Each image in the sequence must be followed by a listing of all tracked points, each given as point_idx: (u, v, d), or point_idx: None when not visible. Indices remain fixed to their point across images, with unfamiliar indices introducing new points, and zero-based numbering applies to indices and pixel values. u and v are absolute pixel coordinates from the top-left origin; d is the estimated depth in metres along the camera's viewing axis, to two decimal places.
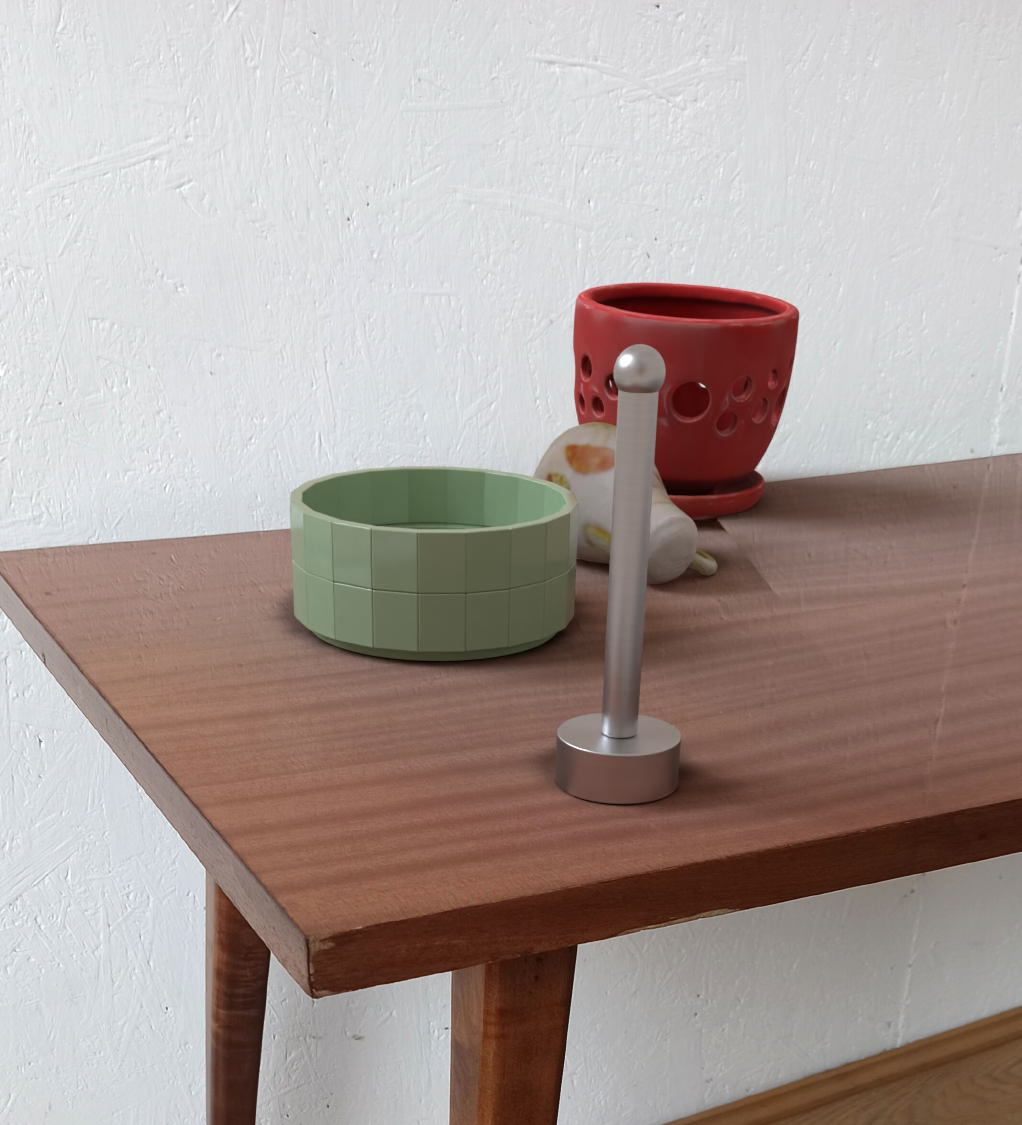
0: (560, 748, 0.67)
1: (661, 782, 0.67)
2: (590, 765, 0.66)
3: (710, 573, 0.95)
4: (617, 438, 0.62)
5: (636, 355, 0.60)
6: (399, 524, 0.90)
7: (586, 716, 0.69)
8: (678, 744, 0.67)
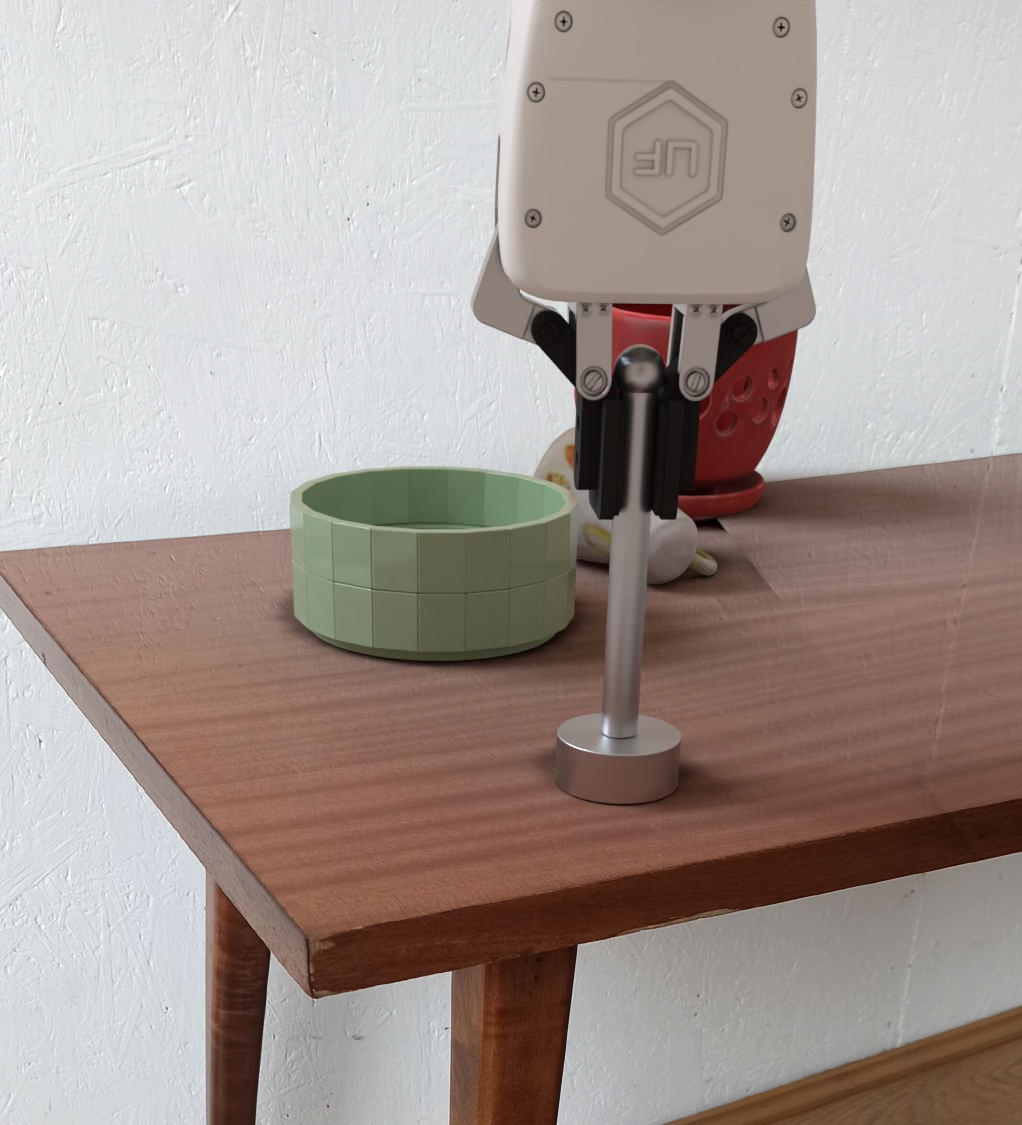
0: (560, 748, 0.67)
1: (661, 782, 0.67)
2: (590, 765, 0.66)
3: (710, 573, 0.95)
4: None
5: (636, 355, 0.60)
6: (399, 524, 0.90)
7: (586, 716, 0.69)
8: (678, 744, 0.67)
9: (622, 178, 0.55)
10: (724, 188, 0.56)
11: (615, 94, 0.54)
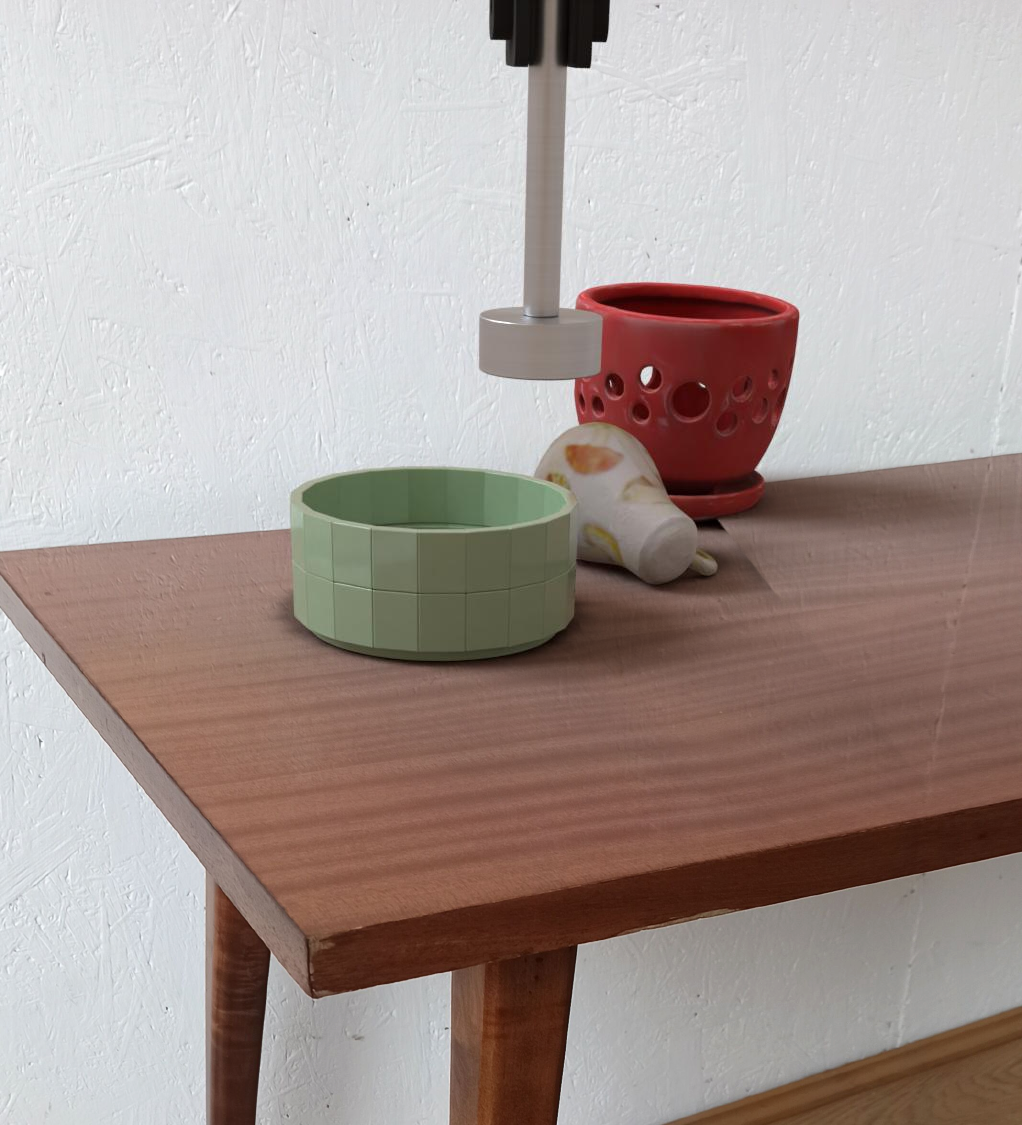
0: (482, 327, 0.68)
1: (583, 359, 0.68)
2: (511, 338, 0.67)
3: (710, 573, 0.95)
4: None
5: None
6: (399, 524, 0.90)
7: (509, 308, 0.70)
8: (599, 322, 0.68)
9: None
10: None
11: None
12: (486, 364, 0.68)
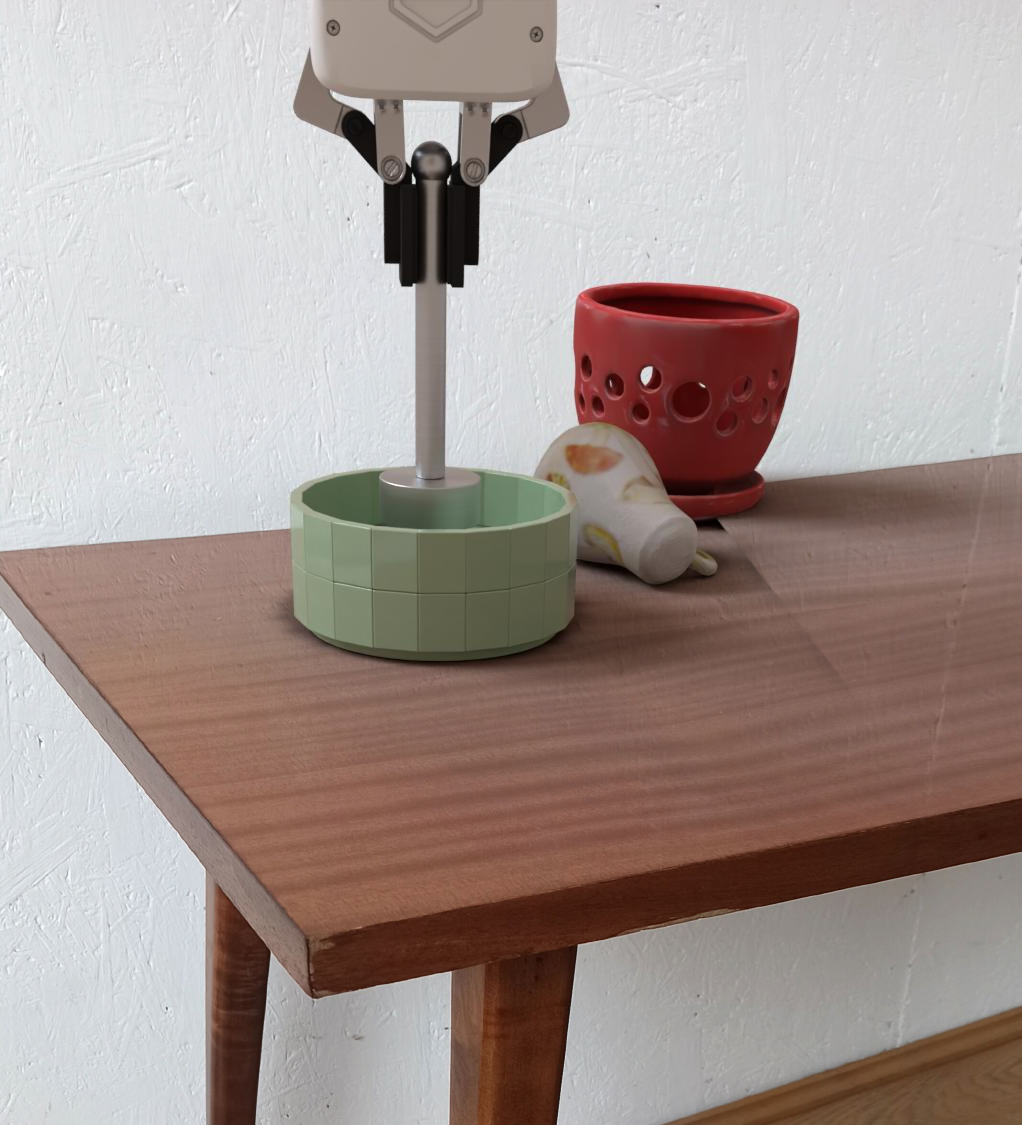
0: (381, 487, 0.83)
1: (462, 514, 0.82)
2: (403, 498, 0.82)
3: (710, 573, 0.95)
4: None
5: (426, 148, 0.75)
6: None
7: (406, 467, 0.84)
8: (477, 484, 0.82)
9: None
10: (483, 5, 0.71)
11: None
12: (384, 516, 0.83)
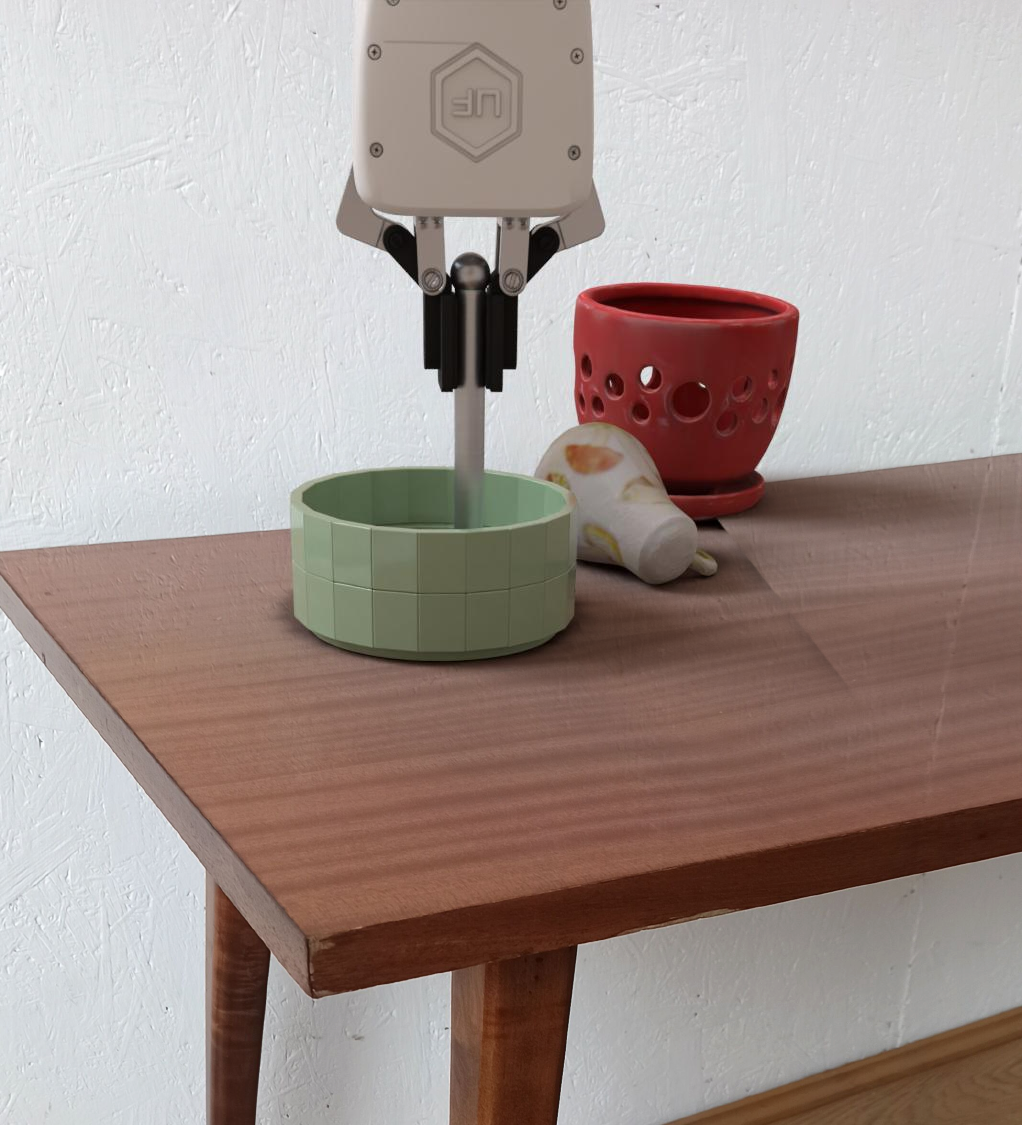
0: None
1: None
2: None
3: (710, 573, 0.95)
4: None
5: (466, 260, 0.77)
6: (399, 524, 0.90)
7: None
8: None
9: (443, 118, 0.72)
10: (522, 126, 0.73)
11: (434, 53, 0.71)
12: None
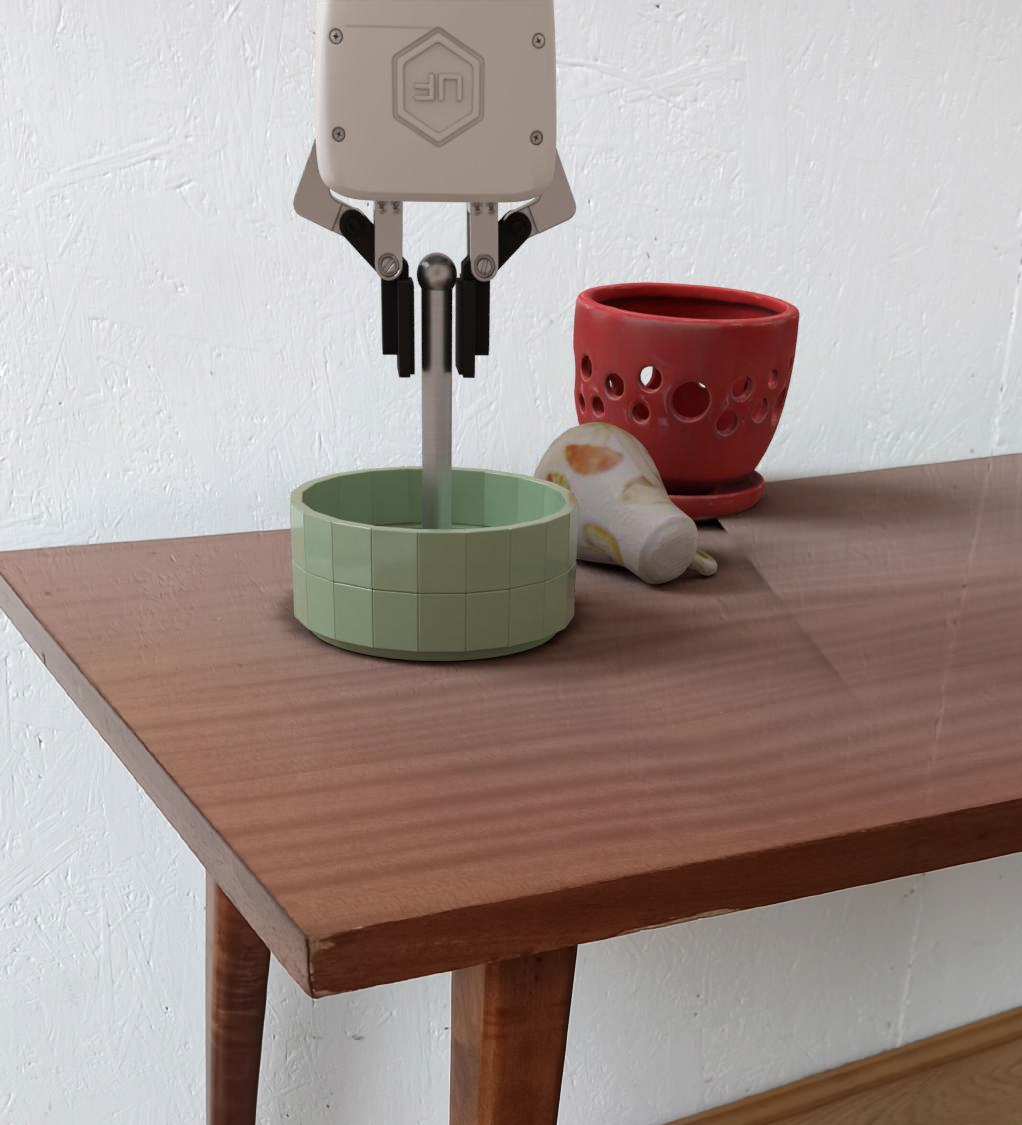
0: None
1: None
2: None
3: (710, 573, 0.95)
4: (422, 327, 0.79)
5: (432, 260, 0.78)
6: (399, 524, 0.90)
7: None
8: None
9: (405, 103, 0.73)
10: (484, 110, 0.73)
11: (396, 37, 0.71)
12: None
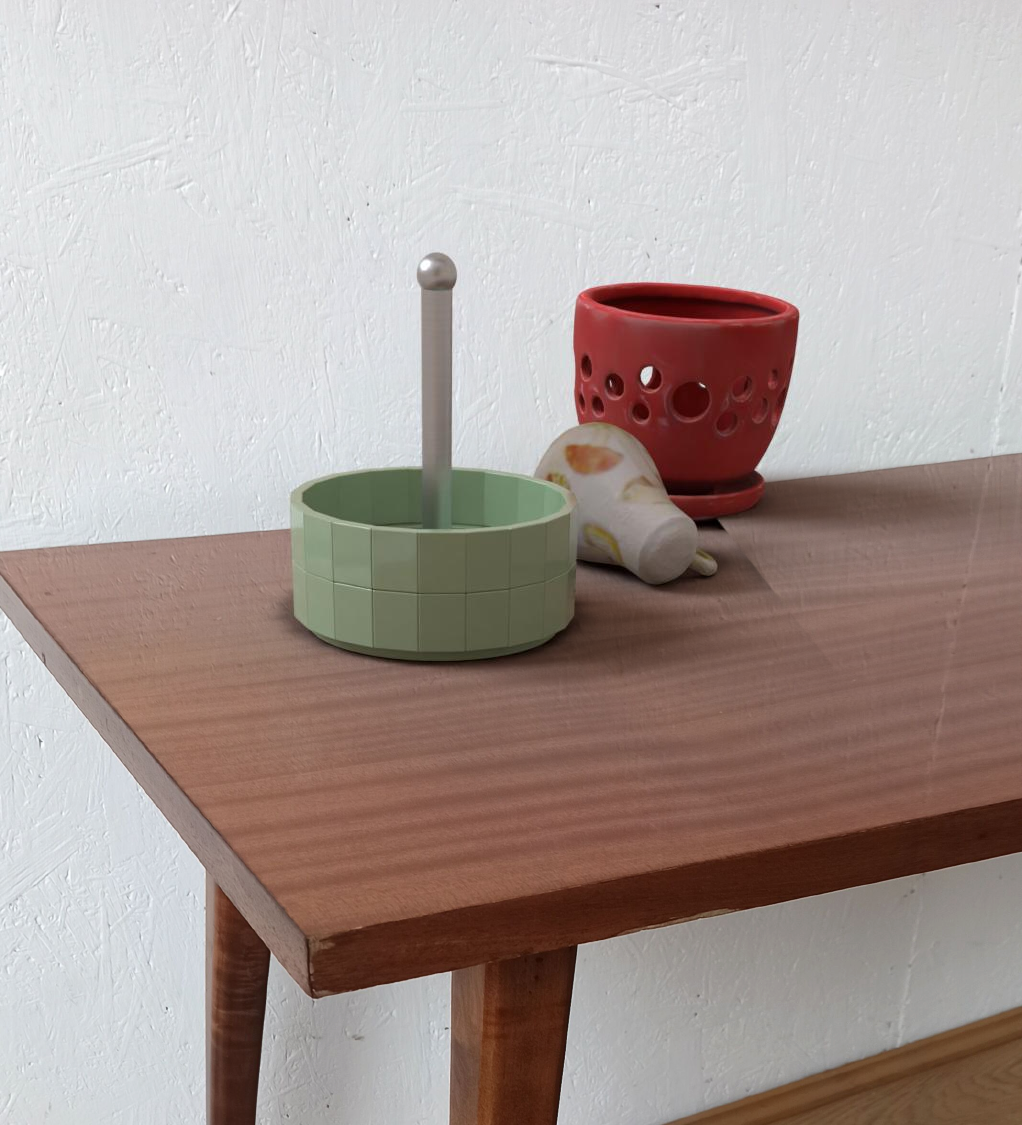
0: None
1: None
2: None
3: (710, 573, 0.95)
4: (422, 327, 0.79)
5: (432, 260, 0.78)
6: (399, 524, 0.90)
7: None
8: None
9: None
10: None
11: None
12: None
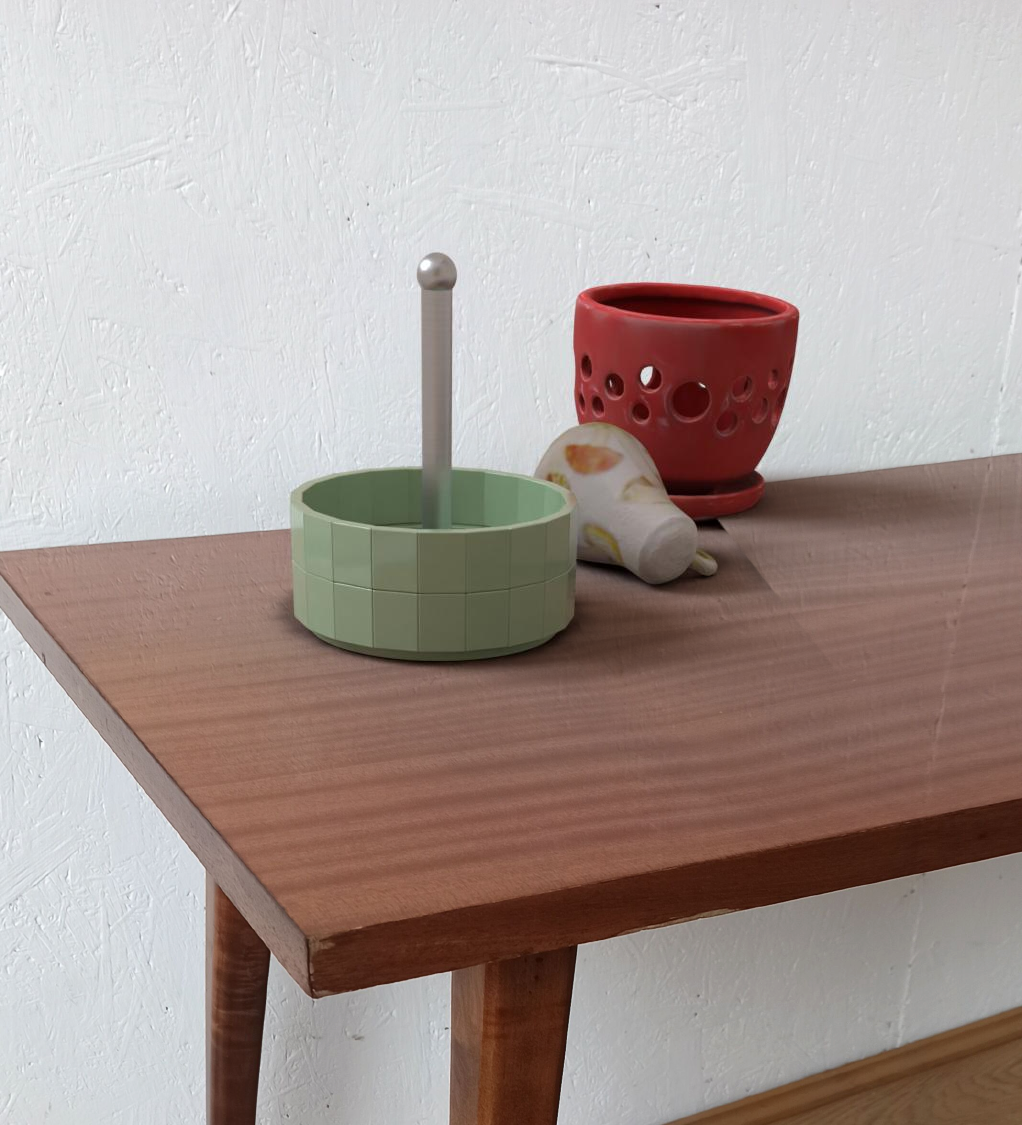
0: None
1: None
2: None
3: (710, 573, 0.95)
4: (422, 327, 0.79)
5: (432, 260, 0.78)
6: (399, 524, 0.90)
7: None
8: None
9: None
10: None
11: None
12: None
